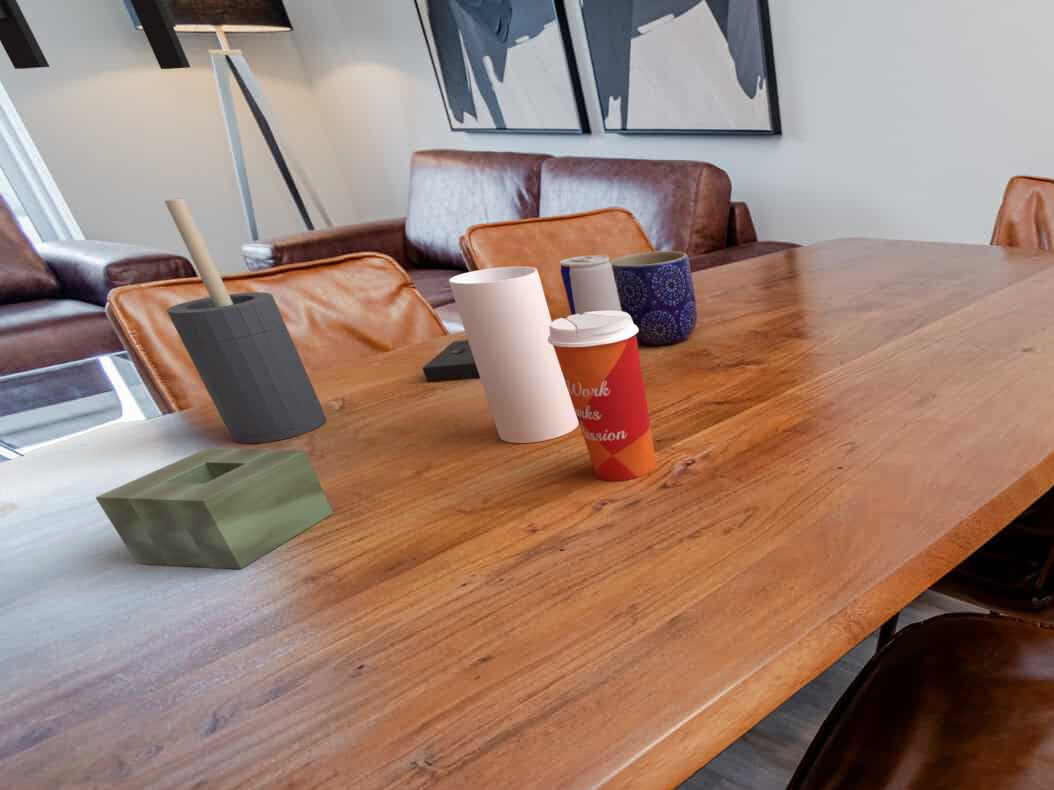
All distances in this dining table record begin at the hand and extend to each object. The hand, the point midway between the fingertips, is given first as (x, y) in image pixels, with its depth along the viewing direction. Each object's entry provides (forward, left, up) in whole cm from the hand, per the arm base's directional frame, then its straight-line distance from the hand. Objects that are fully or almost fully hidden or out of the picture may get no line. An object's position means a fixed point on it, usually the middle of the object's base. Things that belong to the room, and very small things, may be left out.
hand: (109, 68), depth 75 cm
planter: (+31, +37, -35) cm, 60 cm away
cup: (+32, +1, -35) cm, 47 cm away
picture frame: (+13, +26, -35) cm, 45 cm away
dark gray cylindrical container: (0, 0, -35) cm, 35 cm away
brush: (0, 0, -34) cm, 34 cm away
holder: (+19, -25, -35) cm, 47 cm away
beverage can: (+34, +15, -35) cm, 51 cm away
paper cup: (+47, -9, -35) cm, 59 cm away
